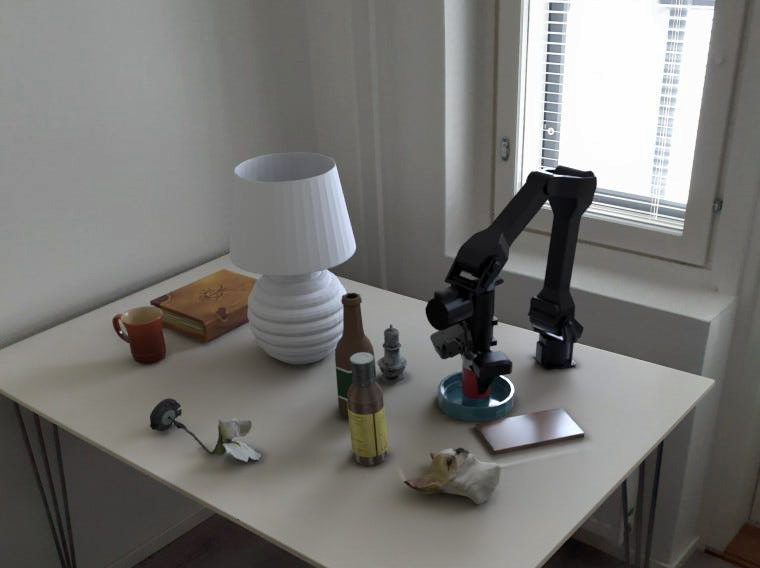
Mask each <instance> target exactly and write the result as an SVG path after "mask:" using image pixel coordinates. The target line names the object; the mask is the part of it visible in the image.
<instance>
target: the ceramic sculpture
mask: <svg viewBox="0 0 760 568" xmlns="http://www.w3.org/2000/svg"><path fill="white" fill-rule="evenodd" d="M429 456H430V458H431V460H432V461H431V463H430V472H429V474H425V475H419V476H417V477H416V478H414V479H411V480H410V479H409V480H403V483H404V485H406V486H408V487H409V488H411V489H412V490H413V491H416V492H418V493H422V494H424V495H432V494H433V495H434V494H442V493H445V494H449V495H450V494H451V495H457V496H463V497H468V498H470V499H471V500H472V501H473V502H474V503H475V504H477V505H481V504H483V503H485V502H487V501H489V500H490V499H491V498H492V496H493V494H494V492H495V490H496V488H497V487H498V485H499V484H500V479H501V470H502V468H501V466H500V465H498V464H497V463H496V462H485V461H479V460H478V459H477V458H476V457H475V455H474V454H473V453H472V451H471V450H470V449H466V448H463V447H457V448H453V447H448V448H445V449H443V450H441V451H439V452H438V453H433V452H430V453H429Z"/></svg>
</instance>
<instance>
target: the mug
mask: <svg viewBox="0 0 760 568" xmlns="http://www.w3.org/2000/svg"><path fill="white" fill-rule="evenodd" d="M162 317H163V311H162V310H161V309H159V308H157V307H155V306H152V305H149V306H148V305H147V306H138V307H134V308H130V309H128V310H126V311H124V313H118V314H115V315H114V316H113V317H112V326H113V329H114V331H115V333H116V334H117V336H118V337H119V338H120V339H121V340H122V341H124V342H125V343H127V344H128V345H129V350H130V353H131V357H132V358H133V360H134V361H135V362H136V363H137V364H141V365H153V364H157V363H159V362H161V361H162V360H164V358H165V357H166V356H167V343H166V340H165V334H164V331H163V326H162ZM119 320H120V321H121V323H122V325H123V328H125V330H126V332H127V334H126V333H125V332H124V331H123V329H122V327H121V325H120V321H119Z"/></svg>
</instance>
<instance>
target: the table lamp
mask: <svg viewBox="0 0 760 568" xmlns="http://www.w3.org/2000/svg"><path fill="white" fill-rule="evenodd" d="M232 191H233V192H232V209H231V224H230V242H229V259H230V262H231V263H232V264H233V265H234V266H235V267H237V268H238V269H240V270H243V271H246V272H249V273H252V274H258V275H261V276H260V277H259V278H258V280H257V281H256V282H255V285H254V287H253V289H252V291H251V293H250V295H249V297H248V312H247V316H248V319H249V322H248V327H249V330H250V332H251V333H252V335H253V337H254V339H255V342H256V344H257V345H258V346H259V347H260V348H261V349H262V350H264V352H265V353H266V354H267V355H269V356H270V357H272V358H274V359H276V360H278V361H280V362H283V363H285V364H290V365H308V364H313V363H317V362H319V361H321V360H323V359H324V358H326V357H328V355H330V354H331V353H333V352H335V349H336V346H337V343H338V341H339V340H340V338H341V337H342V334H343V304H342V301H341V300H342V296H343V295H345V294H347V293H348V292H347V289H346V288H345V286H344V284H342V283H341V282H340V279H339V278H338V276H337V275H335V274H334V273H333V272H331V271H330V270H329V269H332V268H335V267H337V266H339V265H342V264H343V263H344V262H346V261H348V260H349V259H351V258H352V257H353V256H354V254H355V253H356V250H357V244H356V239H355V236H354V233H353V228H352V223H351V220H350V216H349V212H348V208H347V204H346V200H345V196H344V192H343V188H342V183H341V180H340V176H339V172H338V168H337V165H336V161H335V160H334V159H333V157H329V156H326V155H324V154H320V153H315V152H304V151H301V152H299V151H297V152H294V151H293V152H278V153H277V152H276V153H271V154H264V155H259V156H255V157H253V158H250V159H246V160H245V161H243V162H241V163H239V164H238V165H236V166H235V167H234V173H233V190H232Z"/></svg>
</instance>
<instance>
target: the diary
mask: <svg viewBox="0 0 760 568" xmlns="http://www.w3.org/2000/svg"><path fill="white" fill-rule="evenodd" d="M258 279H259V278H258ZM258 279H257V278H254V277H252V276H248V275H244V274H241V273H239V272H235V271H232V270H229V269H225V268H222V269H220V270H218V271H215V272H213V273H211V274H209V275H206V276H204V277H202V278H199V279H197V280H195V281H193V282H190V283H187V284H186V285H184V286H181V287H178V288H176V289H174V290H172V291H170V292H167V293H165V294H163V295H161V296H159V297H156V298H153V299H151V300H150V301H149V303H150V306H152V307H157V308H159V309H161V310H162V311H163V317H162V328H166V329H168V330H171V331H173V332H176V333H179V334H181V335H184V336H186V337H189V338H191V339H194V340H196V341H199V342H202V343H204V344H207V343H209V342H211V341H213V340H215V339H217V338H219V337H221V336H223V335H225V334H227V333H229V332H231V331H233V330H235V329H237V328H238V327H239V328H240V326H243V325H245V324H247V323H249V319H248V316H247V312H248V297H249V295H250V293H251V291H252V289H253V287H254V285H255V282H256V281H257V280H258Z"/></svg>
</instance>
